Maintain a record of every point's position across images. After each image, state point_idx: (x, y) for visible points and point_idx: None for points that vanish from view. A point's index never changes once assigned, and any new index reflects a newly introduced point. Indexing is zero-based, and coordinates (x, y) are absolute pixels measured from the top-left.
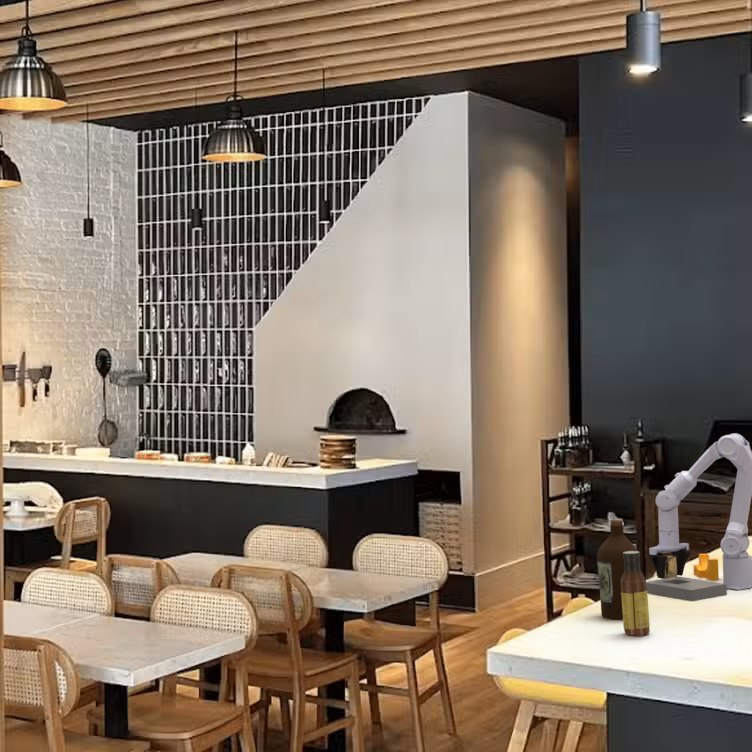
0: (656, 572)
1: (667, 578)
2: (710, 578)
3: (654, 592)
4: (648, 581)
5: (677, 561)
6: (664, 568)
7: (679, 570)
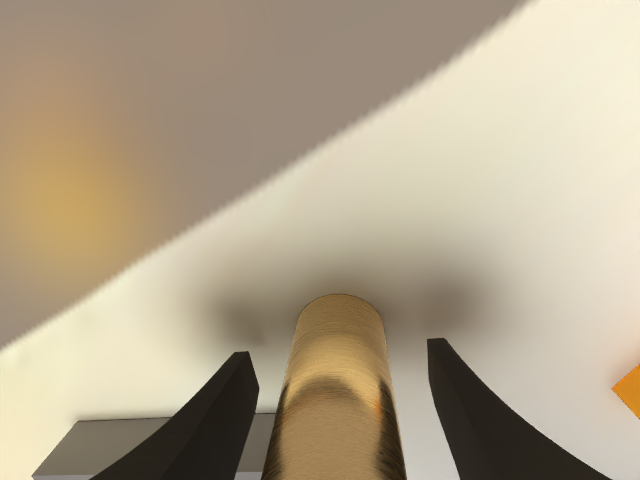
0: (210, 380)
1: None
2: (625, 403)
3: None
4: (65, 476)
5: (469, 456)
6: (229, 472)
7: (438, 399)
